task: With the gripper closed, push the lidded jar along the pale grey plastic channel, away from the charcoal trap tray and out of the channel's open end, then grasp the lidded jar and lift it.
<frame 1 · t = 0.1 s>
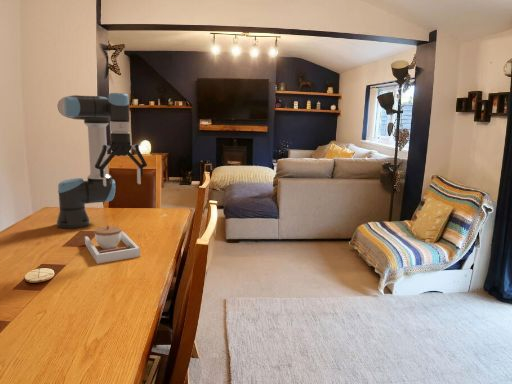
hand: (122, 184, 161), 28 cm above the table, tool pointing down, fingers open, 13 cm apart
lidded jar: (108, 247, 169), on the table
channel: (111, 249, 166), on the table
trap tray: (115, 255, 159), resting in channel
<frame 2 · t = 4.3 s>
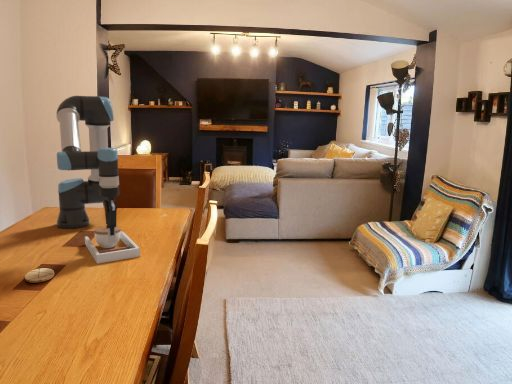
hand: (112, 242, 163), 4 cm above the table, tool pointing down, fingers closed
lidded jar: (108, 246, 170), on the table, touching gripper
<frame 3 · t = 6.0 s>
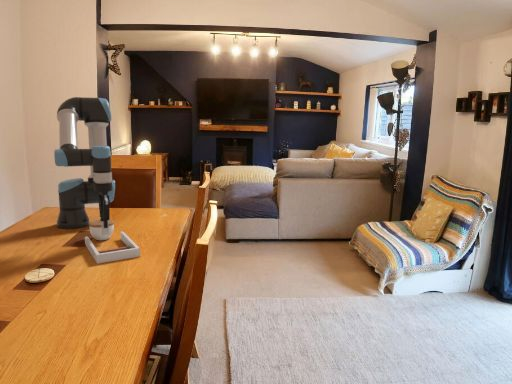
hand: (105, 234, 173), 4 cm above the table, tool pointing down, fingers closed
lidded jar: (102, 238, 180), on the table, touching gripper
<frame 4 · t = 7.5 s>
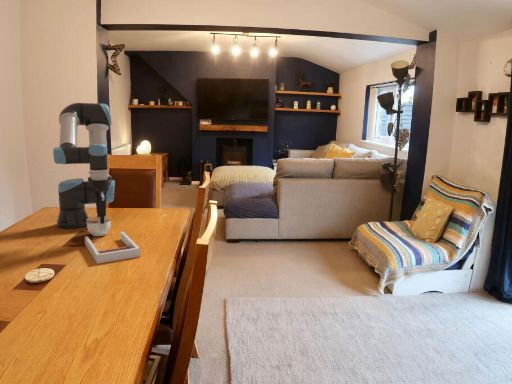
hand: (102, 230, 178), 4 cm above the table, tool pointing down, fingers closed
lidded jar: (99, 234, 185), on the table, touching gripper
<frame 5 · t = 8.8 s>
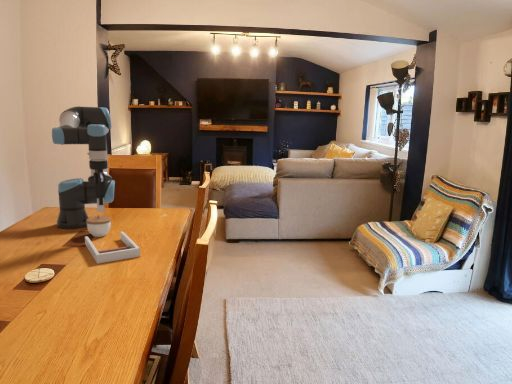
hand: (101, 211, 178), 13 cm above the table, tool pointing down, fingers closed
lidded jar: (99, 235, 185), on the table
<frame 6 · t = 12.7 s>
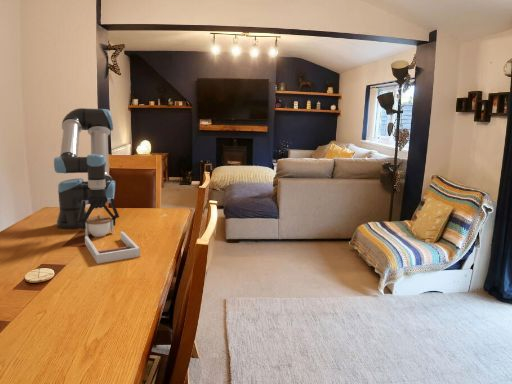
hand: (99, 234, 185), 0 cm above the table, tool pointing down, fingers closed on lidded jar, 11 cm apart
lidded jar: (99, 235, 185), on the table, touching gripper
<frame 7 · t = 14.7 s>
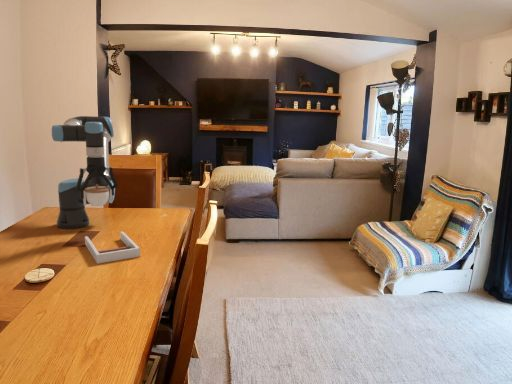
hand: (98, 203, 182), 15 cm above the table, tool pointing down, fingers closed on lidded jar, 11 cm apart
lidded jar: (98, 205, 182), point 14 cm above the table, touching gripper
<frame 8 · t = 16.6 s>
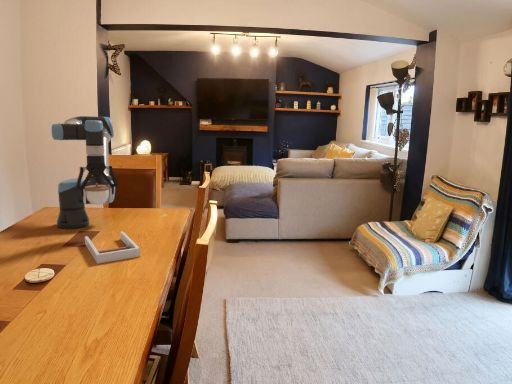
hand: (97, 202, 182), 16 cm above the table, tool pointing down, fingers closed on lidded jar, 11 cm apart
lidded jar: (98, 203, 182), point 15 cm above the table, touching gripper
at the end: the gripper is holding lidded jar; lidded jar point 15.2 cm above the table; lidded jar inside the target area (0.2 cm from its centre), point 15.2 cm above the table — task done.
